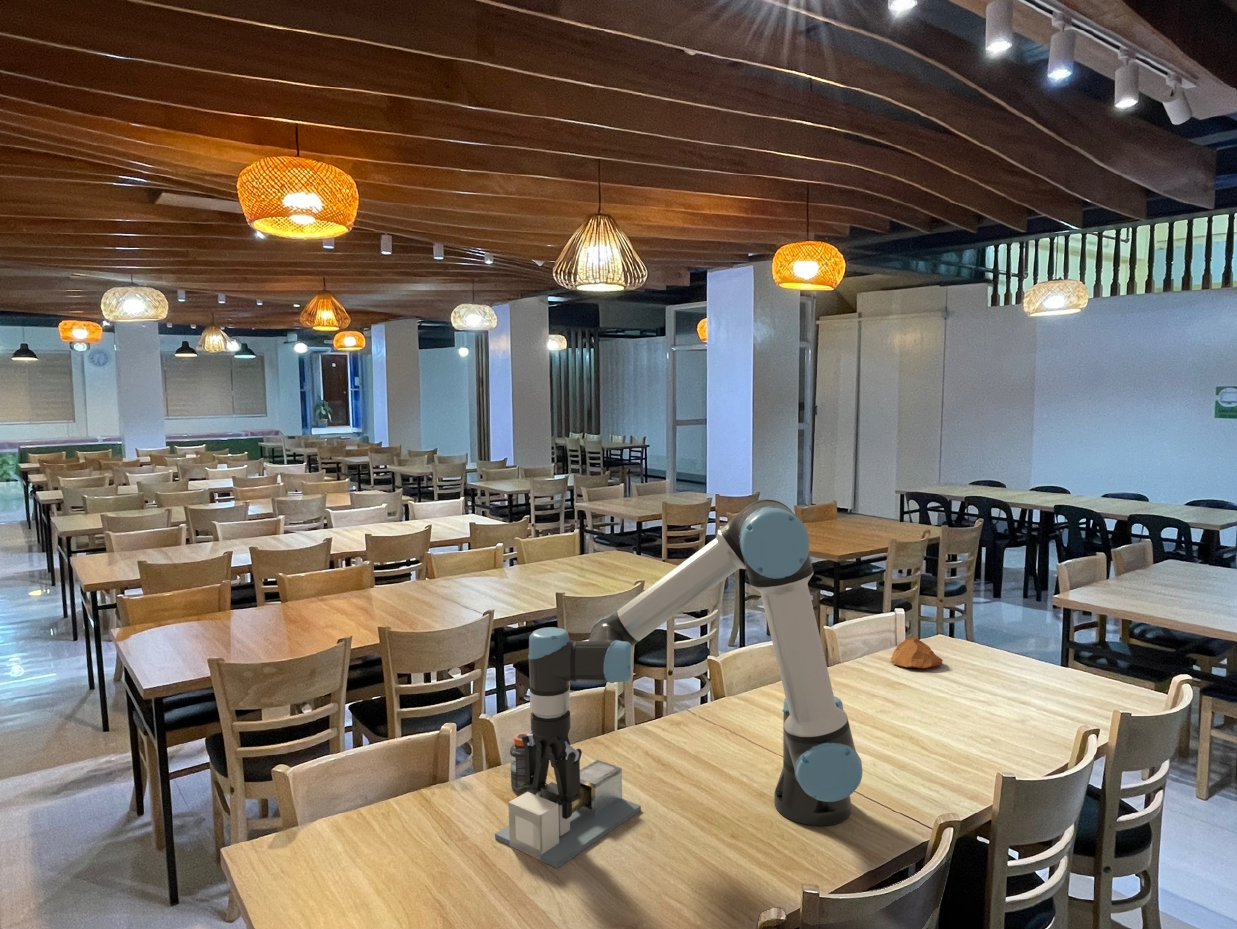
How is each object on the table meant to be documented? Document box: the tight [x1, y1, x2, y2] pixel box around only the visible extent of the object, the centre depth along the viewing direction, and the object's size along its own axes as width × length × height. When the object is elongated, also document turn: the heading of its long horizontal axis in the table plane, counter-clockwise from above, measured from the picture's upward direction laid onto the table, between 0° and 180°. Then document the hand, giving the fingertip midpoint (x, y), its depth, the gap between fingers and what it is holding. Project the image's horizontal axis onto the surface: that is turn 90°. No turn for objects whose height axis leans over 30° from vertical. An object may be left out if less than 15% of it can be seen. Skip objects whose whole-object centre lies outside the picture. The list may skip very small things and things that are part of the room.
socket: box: [508, 791, 559, 862], centre depth 150 cm, size 8×5×8 cm, turn 52°
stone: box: [890, 636, 944, 669], centre depth 248 cm, size 15×15×10 cm
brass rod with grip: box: [541, 781, 592, 813], centre depth 156 cm, size 4×15×7 cm, turn 142°
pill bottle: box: [509, 732, 533, 793], centre depth 173 cm, size 6×6×11 cm
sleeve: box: [580, 759, 623, 816], centre depth 164 cm, size 6×8×6 cm
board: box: [494, 798, 642, 869], centre depth 158 cm, size 16×25×1 cm, turn 142°
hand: (553, 827), depth 154 cm, fingers open, 5 cm apart
